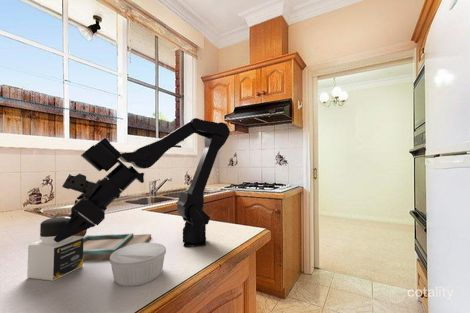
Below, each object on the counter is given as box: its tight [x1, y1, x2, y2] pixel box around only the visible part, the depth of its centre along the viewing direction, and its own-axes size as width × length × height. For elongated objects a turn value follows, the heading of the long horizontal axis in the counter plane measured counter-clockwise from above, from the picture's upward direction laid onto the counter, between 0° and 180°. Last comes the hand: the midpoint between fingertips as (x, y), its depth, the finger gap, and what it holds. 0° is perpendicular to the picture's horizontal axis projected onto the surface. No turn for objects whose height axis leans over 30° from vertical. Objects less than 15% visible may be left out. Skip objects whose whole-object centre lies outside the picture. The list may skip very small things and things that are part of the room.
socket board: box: [83, 233, 152, 261], centre depth 64 cm, size 20×16×2 cm
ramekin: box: [109, 242, 167, 287], centre depth 48 cm, size 11×11×5 cm
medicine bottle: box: [26, 217, 85, 282], centre depth 50 cm, size 7×7×12 cm
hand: (58, 235), depth 50 cm, fingers open, 9 cm apart
